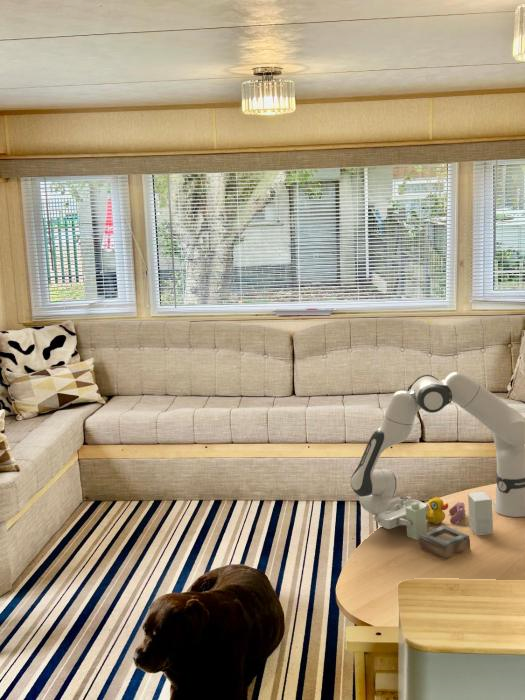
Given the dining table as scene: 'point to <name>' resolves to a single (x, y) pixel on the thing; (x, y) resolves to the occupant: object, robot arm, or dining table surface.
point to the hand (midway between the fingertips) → (417, 521)
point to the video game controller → (457, 512)
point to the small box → (480, 513)
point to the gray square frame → (444, 542)
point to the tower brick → (416, 520)
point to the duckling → (436, 510)
